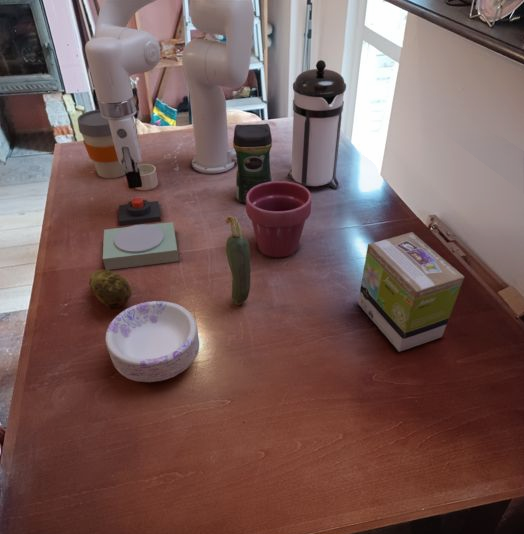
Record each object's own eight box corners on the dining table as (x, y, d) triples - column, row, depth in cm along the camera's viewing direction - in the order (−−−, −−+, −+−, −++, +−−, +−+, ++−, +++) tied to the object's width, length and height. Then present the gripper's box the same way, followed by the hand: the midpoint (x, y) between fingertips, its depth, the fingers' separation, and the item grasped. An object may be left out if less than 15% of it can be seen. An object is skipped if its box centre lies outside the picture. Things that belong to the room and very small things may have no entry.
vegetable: (254, 301, 97) (252, 212, 83) (247, 314, 94) (243, 225, 80) (234, 296, 98) (229, 208, 84) (226, 310, 95) (219, 220, 81)
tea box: (355, 304, 96) (366, 241, 85) (397, 292, 99) (413, 229, 88) (398, 354, 86) (417, 290, 76) (443, 338, 89) (467, 274, 78)
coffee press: (350, 176, 135) (365, 56, 113) (324, 200, 125) (335, 73, 104) (296, 162, 141) (302, 46, 120) (268, 184, 132) (268, 62, 110)
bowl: (158, 178, 135) (155, 162, 132) (159, 190, 130) (156, 174, 127) (133, 181, 134) (129, 165, 131) (133, 192, 129) (130, 176, 126)
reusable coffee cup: (115, 158, 144) (102, 105, 134) (144, 168, 139) (134, 114, 129) (82, 173, 137) (66, 119, 127) (111, 185, 132) (97, 129, 121)
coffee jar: (271, 189, 130) (271, 118, 116) (273, 204, 124) (273, 131, 111) (235, 190, 130) (232, 119, 116) (235, 205, 124) (232, 132, 111)
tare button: (143, 202, 120) (142, 197, 119) (144, 208, 118) (142, 202, 117) (132, 204, 120) (131, 198, 119) (132, 209, 118) (131, 203, 117)
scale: (174, 232, 115) (172, 219, 112) (178, 261, 107) (176, 247, 104) (107, 240, 113) (103, 227, 110) (105, 270, 105) (101, 256, 102)
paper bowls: (163, 407, 78) (155, 375, 72) (97, 371, 84) (84, 339, 78) (218, 351, 87) (214, 318, 81) (154, 321, 93) (147, 289, 87)
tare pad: (159, 205, 124) (157, 195, 122) (161, 221, 119) (159, 210, 117) (120, 209, 123) (117, 199, 121) (120, 226, 117) (117, 215, 115)
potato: (134, 279, 102) (126, 247, 97) (135, 318, 94) (127, 285, 88) (94, 284, 101) (84, 252, 95) (92, 324, 92) (80, 291, 87)
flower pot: (254, 227, 117) (253, 177, 107) (312, 233, 114) (315, 182, 105) (241, 260, 107) (238, 208, 98) (303, 267, 105) (306, 215, 96)
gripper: (135, 117, 98) (152, 199, 111) (134, 92, 108) (149, 170, 121) (98, 121, 97) (119, 203, 110) (100, 95, 107) (119, 173, 120)
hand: (135, 186), depth 116 cm, fingers closed
